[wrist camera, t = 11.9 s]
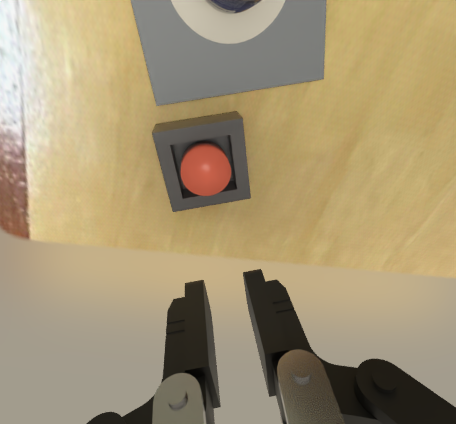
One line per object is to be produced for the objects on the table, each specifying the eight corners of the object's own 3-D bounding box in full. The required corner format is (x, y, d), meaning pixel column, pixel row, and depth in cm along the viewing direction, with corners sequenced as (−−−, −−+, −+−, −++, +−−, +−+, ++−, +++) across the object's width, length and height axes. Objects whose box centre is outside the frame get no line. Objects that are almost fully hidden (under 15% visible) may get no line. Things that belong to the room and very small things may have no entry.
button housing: (236, 111, 25) (242, 118, 22) (244, 184, 28) (250, 198, 26) (155, 124, 24) (152, 133, 22) (174, 197, 28) (172, 212, 25)
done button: (224, 137, 24) (227, 144, 22) (230, 181, 26) (234, 191, 24) (176, 145, 23) (175, 153, 22) (186, 189, 25) (186, 199, 24)
